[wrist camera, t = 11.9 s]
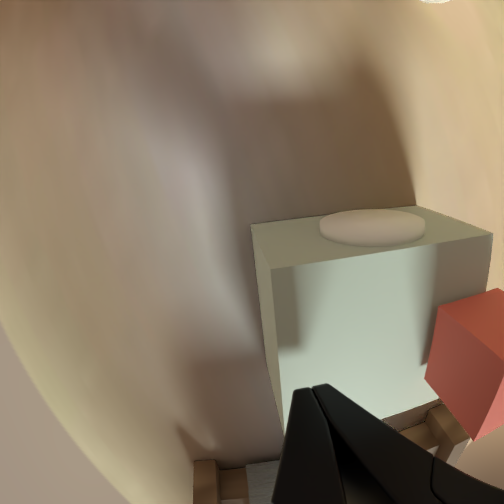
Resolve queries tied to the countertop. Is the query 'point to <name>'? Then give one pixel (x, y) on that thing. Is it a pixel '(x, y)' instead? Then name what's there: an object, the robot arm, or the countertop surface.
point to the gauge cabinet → (362, 300)
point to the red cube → (470, 361)
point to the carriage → (261, 481)
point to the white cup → (435, 1)
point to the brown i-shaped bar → (425, 434)
